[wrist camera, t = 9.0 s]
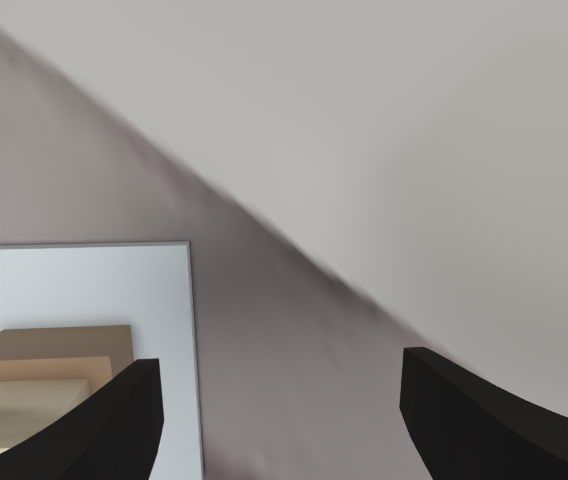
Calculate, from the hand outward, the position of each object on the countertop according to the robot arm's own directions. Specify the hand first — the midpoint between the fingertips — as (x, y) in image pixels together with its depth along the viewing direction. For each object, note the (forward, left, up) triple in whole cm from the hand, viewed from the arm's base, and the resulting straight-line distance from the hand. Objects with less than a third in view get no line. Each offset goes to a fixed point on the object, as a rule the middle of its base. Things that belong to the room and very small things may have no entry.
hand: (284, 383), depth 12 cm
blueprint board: (-5, +10, -9) cm, 15 cm away
